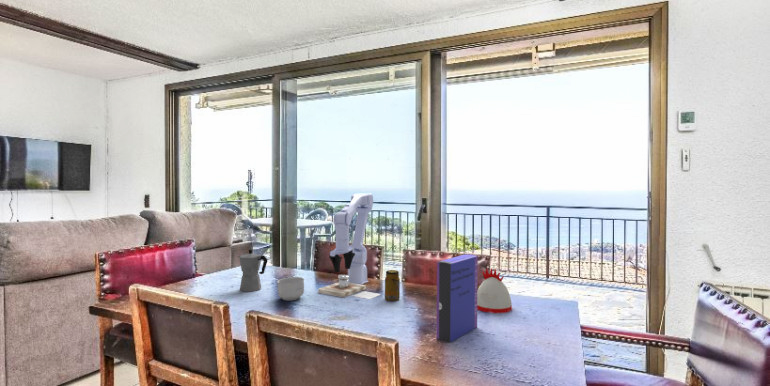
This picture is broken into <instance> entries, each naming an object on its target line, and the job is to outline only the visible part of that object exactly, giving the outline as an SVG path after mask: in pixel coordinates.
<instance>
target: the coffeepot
mask: <svg viewBox="0 0 770 386" xmlns="http://www.w3.org/2000/svg"><path fill="white" fill-rule="evenodd" d="M237 258H239V263H240V269H241V272H242V275H241V281H240V286H239V291H240V292H244V293H251V292H253V293H254V292H258V291H260V290H261V289H262V284H261V279H260V277H261V276H260V275H264V274H265V271H266V268H267V263H268V258H267V257H266V255H261V254H257V253H253V249H248V253H245V254H241V255H240V254H239V255H238V256H237ZM261 261H263V263H262V267H261ZM260 267H261V271H259V270H260Z"/></svg>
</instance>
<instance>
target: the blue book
mask: <svg viewBox="0 0 770 386" xmlns="http://www.w3.org/2000/svg"><path fill="white" fill-rule="evenodd" d="M478 263H479V257H478V255H474V254H462V255H458V256H454V257H450V258H446V259H442V260H439V261H437V262H436V340H438V341H442V342H446V343H449V344H451V343H453V342H454V341H456V340H458V339H460V338H461V337H463V336H465V335H467V334H469V333H470V332H472V331H474V330H475V329H477V328H478V309H477V291H478V283H479V282H478V281H479V279H478V272H479V269H478V265H479V264H478Z"/></svg>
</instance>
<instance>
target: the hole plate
mask: <svg viewBox="0 0 770 386" xmlns="http://www.w3.org/2000/svg"><path fill="white" fill-rule="evenodd" d="M364 290H367V285H366V284H365V285H364V284H361V285H360V284H354V283H348V288H345V289H341V288H339V281H338V282H335V283H332V284H330V285H329V284H328V285H326V286H324V287H319V288H318V289H317V291H318V293H319V294H324V295H329V296H334V297H335V296H336V297H340V298H346V297H349V296H353V295H356V294H358V293H361V292H364Z"/></svg>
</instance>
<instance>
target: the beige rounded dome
mask: <svg viewBox="0 0 770 386" xmlns="http://www.w3.org/2000/svg"><path fill="white" fill-rule="evenodd" d="M481 272H482V275H483V278H484V280H483V281H482V282H481V284H480V285H479V286H477V311H481V312H485V313H488V314H489V313H490V314H505V313H510V312H511V311H512V309H513V308H512V307H513V304H512V299H511V296H510V293H509V290H508V288H507V286H506V284H505V283H504V281H503V279H504V275H503V276H501V278H500V275H501V272H498V273H497V269H496V268H495V269H494V270H493V268H491V269H490V271H489V269H488V268H485V272H484V271H481Z"/></svg>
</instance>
